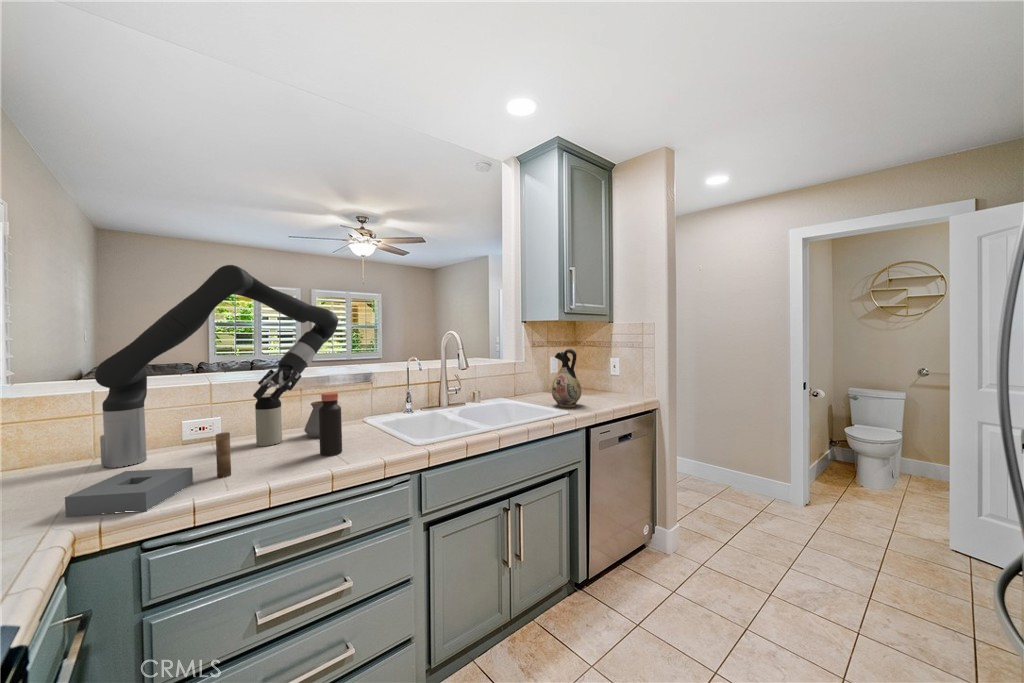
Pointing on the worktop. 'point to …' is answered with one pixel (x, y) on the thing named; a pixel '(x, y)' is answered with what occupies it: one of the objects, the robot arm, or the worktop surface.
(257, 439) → the travel mug
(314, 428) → the coffee pot
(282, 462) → the worktop surface
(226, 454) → the peg
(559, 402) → the ceramic jug
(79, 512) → the hole block
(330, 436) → the bottle
